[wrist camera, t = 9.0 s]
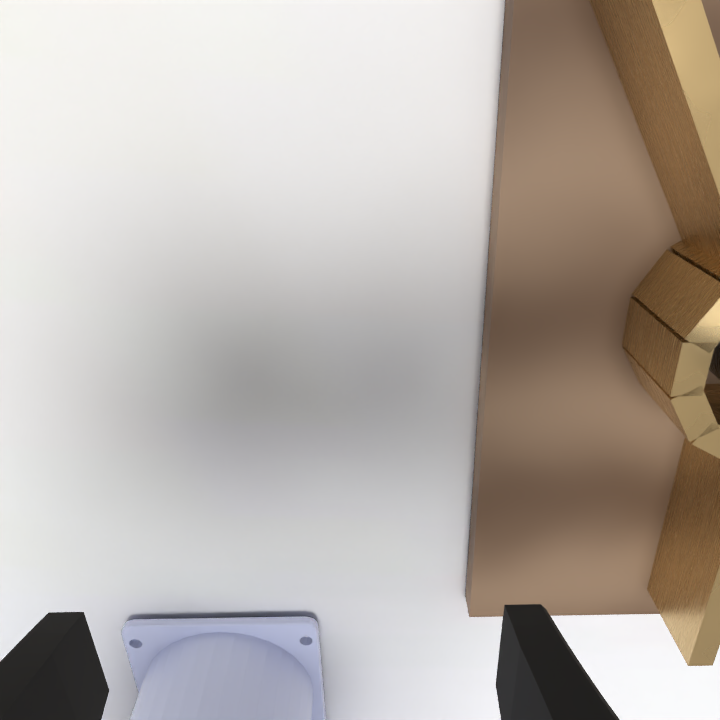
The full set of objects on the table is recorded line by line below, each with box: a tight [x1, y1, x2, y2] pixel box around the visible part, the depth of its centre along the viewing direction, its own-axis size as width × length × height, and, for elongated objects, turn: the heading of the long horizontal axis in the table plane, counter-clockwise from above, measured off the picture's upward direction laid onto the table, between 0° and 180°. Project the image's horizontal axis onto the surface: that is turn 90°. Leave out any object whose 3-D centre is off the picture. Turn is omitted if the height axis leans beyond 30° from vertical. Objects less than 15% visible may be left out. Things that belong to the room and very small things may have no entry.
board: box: [465, 0, 720, 617], centre depth 19 cm, size 23×10×1 cm, turn 2°
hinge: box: [589, 0, 720, 666], centre depth 17 cm, size 21×9×3 cm, turn 2°
